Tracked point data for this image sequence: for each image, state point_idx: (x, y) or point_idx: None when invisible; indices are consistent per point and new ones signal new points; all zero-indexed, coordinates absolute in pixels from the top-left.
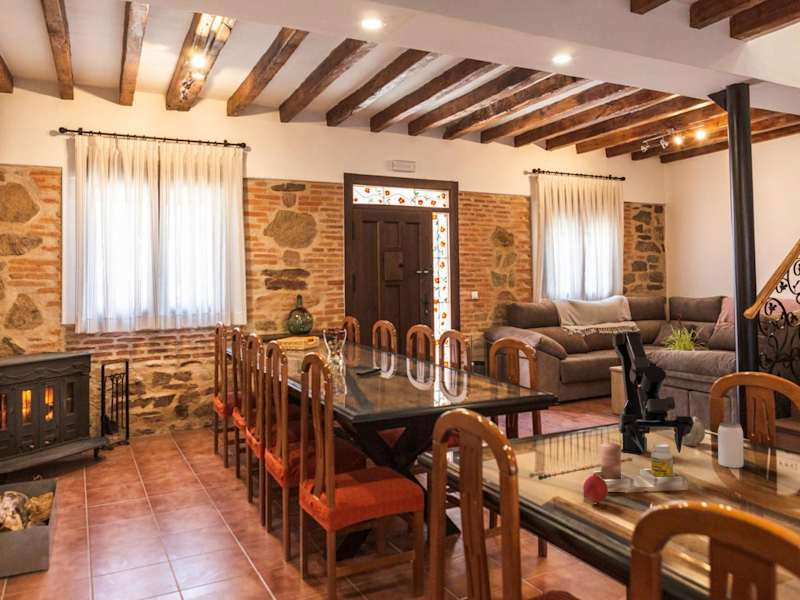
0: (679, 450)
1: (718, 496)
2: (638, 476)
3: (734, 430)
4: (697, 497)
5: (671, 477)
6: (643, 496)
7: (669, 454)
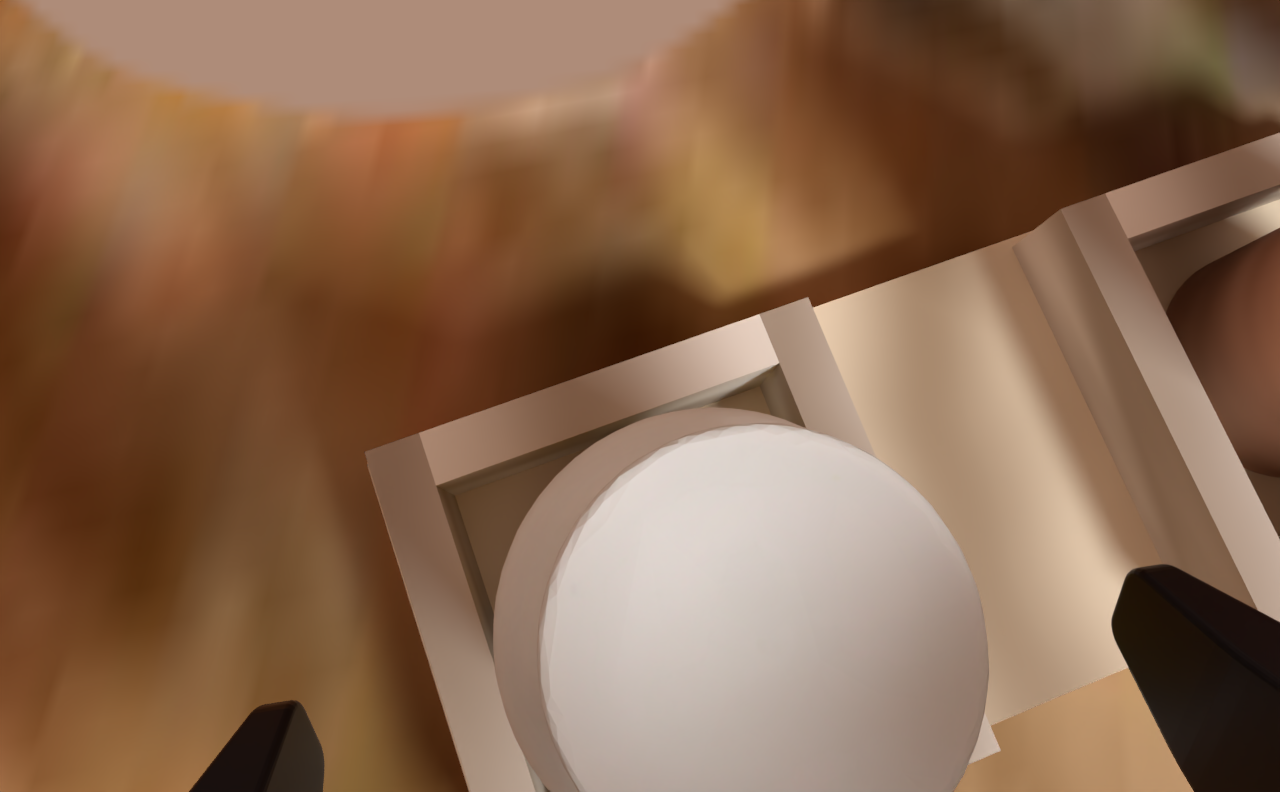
0: (286, 701)
1: (98, 302)
2: None
3: None
4: (340, 223)
5: (572, 400)
6: (892, 146)
7: (566, 503)
